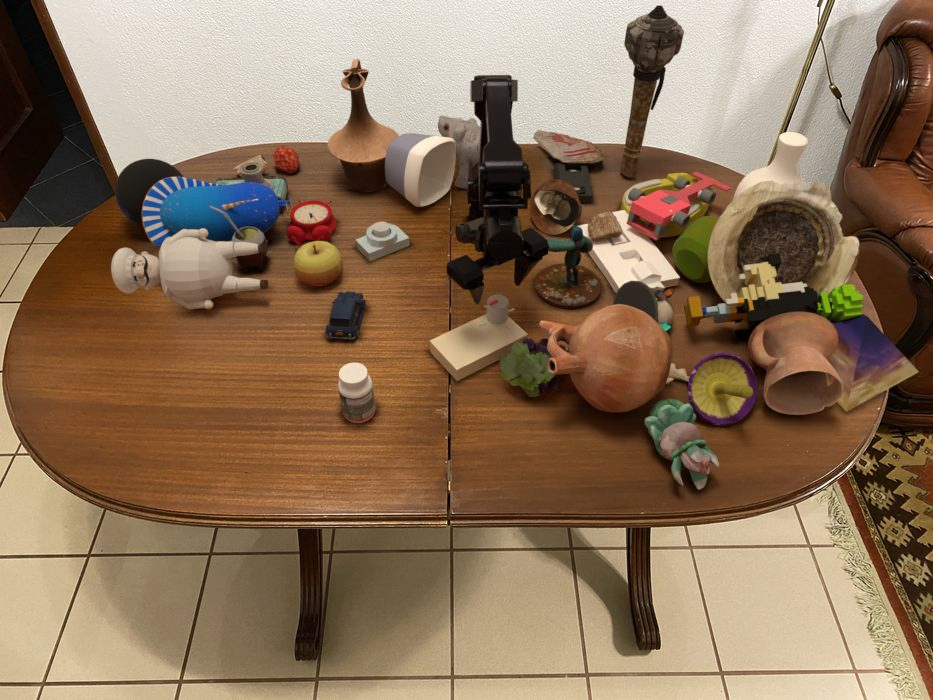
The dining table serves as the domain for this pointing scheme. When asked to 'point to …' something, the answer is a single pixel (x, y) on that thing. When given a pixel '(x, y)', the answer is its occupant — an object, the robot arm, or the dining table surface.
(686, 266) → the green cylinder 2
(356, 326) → the toy car
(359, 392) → the pill bottle
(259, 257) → the mate gourd
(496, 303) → the knob
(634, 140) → the mace
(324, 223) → the alarm clock
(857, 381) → the decorative sculpture
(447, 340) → the panel
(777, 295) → the toy
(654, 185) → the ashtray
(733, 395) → the decorative mushroom
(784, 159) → the vase
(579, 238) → the figurine
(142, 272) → the figurine
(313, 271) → the apple
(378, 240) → the control knob block
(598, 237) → the stone
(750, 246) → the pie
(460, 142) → the sculpture
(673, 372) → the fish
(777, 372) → the ceramic jug
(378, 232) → the flush button
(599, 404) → the jug
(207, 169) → the dining table surface
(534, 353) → the fruit
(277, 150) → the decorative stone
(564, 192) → the brown hollow round piece
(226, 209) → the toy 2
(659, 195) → the race car
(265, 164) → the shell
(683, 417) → the toy
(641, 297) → the figurine
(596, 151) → the stone artifact
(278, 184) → the camera
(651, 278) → the building model
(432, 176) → the bowl
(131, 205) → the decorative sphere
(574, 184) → the vhs tape
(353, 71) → the brown clay flask
